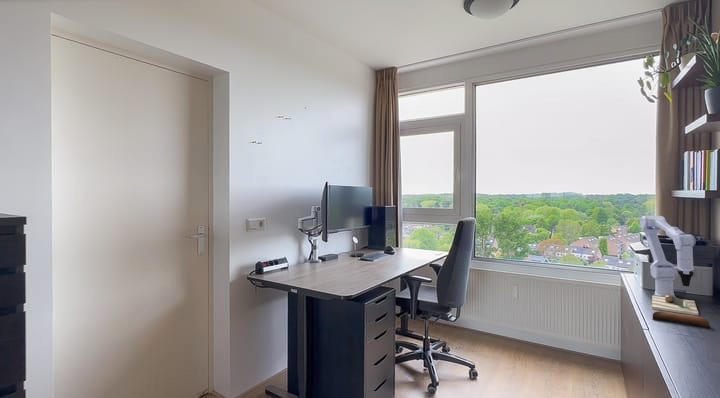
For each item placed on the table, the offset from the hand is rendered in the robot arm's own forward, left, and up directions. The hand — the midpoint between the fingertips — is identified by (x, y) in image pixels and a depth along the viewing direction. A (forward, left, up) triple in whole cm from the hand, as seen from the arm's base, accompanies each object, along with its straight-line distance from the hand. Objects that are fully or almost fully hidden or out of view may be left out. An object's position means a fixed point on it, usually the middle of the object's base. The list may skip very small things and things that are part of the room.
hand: (685, 285), depth 168 cm
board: (+6, -5, -9) cm, 12 cm away
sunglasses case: (+31, -4, -10) cm, 33 cm away
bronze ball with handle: (+7, -4, -8) cm, 11 cm away
